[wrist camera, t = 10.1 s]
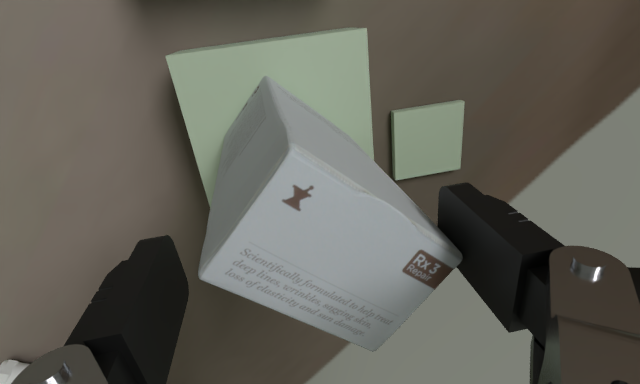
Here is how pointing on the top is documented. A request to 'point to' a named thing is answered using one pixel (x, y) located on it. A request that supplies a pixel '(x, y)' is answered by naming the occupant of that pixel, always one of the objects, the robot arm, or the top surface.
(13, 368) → the white brass knuckles
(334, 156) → the skincare box
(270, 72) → the sage riser block
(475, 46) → the top surface
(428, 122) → the sage tile
